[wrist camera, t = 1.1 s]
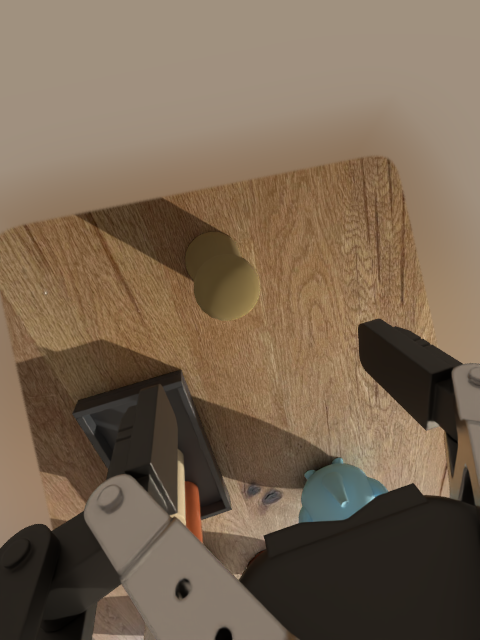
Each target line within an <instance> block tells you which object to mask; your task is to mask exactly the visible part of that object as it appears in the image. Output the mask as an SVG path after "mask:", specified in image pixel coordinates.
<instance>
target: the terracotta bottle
mask: <svg viewBox="0 0 480 640" xmlns="http://www.w3.org/2000/svg"><path fill="white" fill-rule="evenodd" d="M185 505H186V527H187V528H188V529H189V530H190V531H191V532H192V533H193V534H194V535H195V536H196V537H197V538H198V539H199V540H200V541H201V542H202V543H203V536H202V523H201V509H200V496H199V488H198V486H197V485H196V484H195V483H193V482H189V481H185Z"/></svg>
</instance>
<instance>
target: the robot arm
mask: <svg viewBox="0 0 480 640" xmlns="http://www.w3.org/2000/svg"><path fill="white" fill-rule="evenodd" d="M358 338H359V357H360V361H361V364H362V366H363V368H364V369H365V371H366V372H367V373H368V374H369V375H370V376H371V377H372V378H373V379H374V380H375V381H376V382H377V383H378V384H379V385H380V386H382V387H383V388H384V389H385V390H386V391H387V392H388V393H389V394H390V395H391V396H392V397H393V398H394V399H395V400H396V401H397V402H398V403H399V404H400V405H401V406H402V407H403V408H404V409H405V410H406V411H407V412H408V413H409V414H410V415H411V416H412V417H413V418H414V419H415V420H416V421H417V422H418V423H419V424H420V425H421V426H422V427H423V428H424V429H425V430H426V431H427V430H430V429H433V428H436V427H438V426H440V427H441V428H442V429H443V430H444V445H445V453H446V461H447V470H448V478H449V488H450V498H447V497H441V496H431V495H423V494H422V493H421V492H420V491H419V489H418V488H417V487H416V486H415V484H414V483H412V484H410V485H407V486H404V487H401V488H398V489H395V490H392V491H390V492H387V493H384V494H381V495H378V496H377V497H375V498H374V499H373V500H371V501H370V502H369V503H367V504H366V505H365V506H363V507H362V508H361V509H359V510H358V511H357V512H356V513H354V514H353V515H352V516H350V517H349V518H347V519H345V520H335V521H316V522H301V523H298V524H295V525H292V526H290V527H287V528H284V529H281V530H278V531H275V532H272V533H270V534H267V535H264V539H265V543H266V547H267V549H266V550H265V551H264V552H262V553H261V554H260V555H259V556H258V557H257V558H255V559H254V560H253V561H252V562H251V564H250V565H249V566H248V567H247V569H246V570H245V571H244V573H243V574H242V576H241V578H240V579H239V580H238V579H237V578H236V577H235V576H234V575H233V574H232V573H231V572H230V571H229V570H228V569H227V568H226V567H225V566H224V565H223V564H222V563H221V562H220V561H219V560H218V559H217V558H216V557H215V556H214V555H213V554H212V553H211V552H210V551H209V550H208V549H207V548H206V547H205V545H204V544H203V543H202V542H201V541H200V540H199V539H198V538H197V537H196V536H195V535H194V534H193V533H192V532H191V531H190V530H189V529H188V528H187V527H186V526H185V525H184V524H183V523H182V522H181V521H180V520H179V519H178V518H177V517H175V516H174V517H173V518H172V517H170V515H173V514H176V513H178V427H177V421H176V417H175V414H174V412H173V409H172V407H171V405H170V402H169V400H168V398H167V396H166V393H165V391H164V389H163V387H162V385H161V384H157V385H154V386H151V387H147V388H144V389H141V390H140V391H139V396H138V402H137V405H134V406H131V407H129V408H128V409H127V411H126V412H125V414H124V415H123V417H122V418H121V421H120V425H119V429H118V431H119V433H117V438H116V443H115V446H114V450H113V454H112V458H111V462H110V466H109V470H108V474H107V478H106V481H104V482H103V483H102V484H101V485H99V486H98V487H97V488H96V489H95V491H94V492H93V493H92V494H91V496H90V497H89V499H88V501H87V503H86V505H85V509H84V511H83V512H81V513H80V514H78V515H77V516H75V517H74V518H72V519H71V520H69V521H67V522H66V523H64V524H63V525H61V526H59V527H58V528H56V529H55V530H53V531H51V530H50V529H49V528H48V527H47V526H46V525H43V524H34V525H31V526H29V527H26V528H24V529H23V530H21V531H19V532H18V533H16V534H15V535H14V536H13V537H11V538H10V539H9V540H8V541H7V542H6V543H5V544H4V545H3V546H2V547H1V548H0V640H92V635H93V628H94V622H95V615H96V608H97V602H98V601H99V600H100V599H102V598H103V597H104V596H106V595H107V594H108V593H110V592H111V591H113V590H114V589H115V588H117V587H118V586H119V585H121V584H122V586H123V587H124V589H125V591H126V592H127V594H128V595H129V597H130V599H131V600H132V602H133V604H134V605H135V607H136V609H137V610H138V612H139V613H140V615H141V617H142V618H143V620H144V622H145V623H146V625H147V627H148V628H149V630H150V631H151V633H152V635H153V636H154V638H155V640H480V364H476V363H469V364H462V363H461V362H459V361H458V360H456V359H454V358H453V357H451V356H450V355H448V354H446V353H445V352H443V351H442V350H440V349H438V348H437V347H435V346H434V345H430V343H429V342H427V341H426V340H424V339H421V337H419V336H418V335H416V334H414V333H413V332H411V331H409V330H406V329H403V328H399V327H396V326H395V327H392V326H391V325H389V324H387V323H386V322H384V321H383V320H381V319H375V320H372V321H368V322H365V323H362V324H360V325H359V327H358Z"/></svg>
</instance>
